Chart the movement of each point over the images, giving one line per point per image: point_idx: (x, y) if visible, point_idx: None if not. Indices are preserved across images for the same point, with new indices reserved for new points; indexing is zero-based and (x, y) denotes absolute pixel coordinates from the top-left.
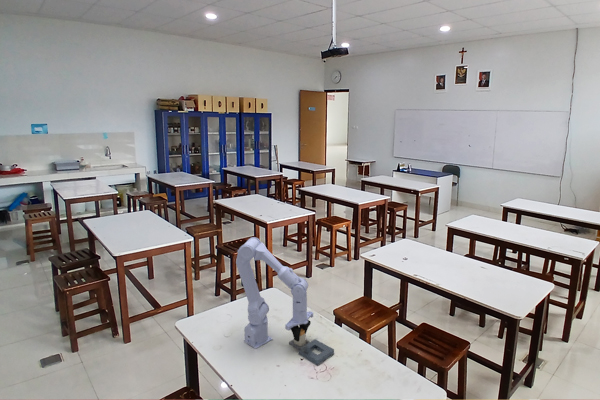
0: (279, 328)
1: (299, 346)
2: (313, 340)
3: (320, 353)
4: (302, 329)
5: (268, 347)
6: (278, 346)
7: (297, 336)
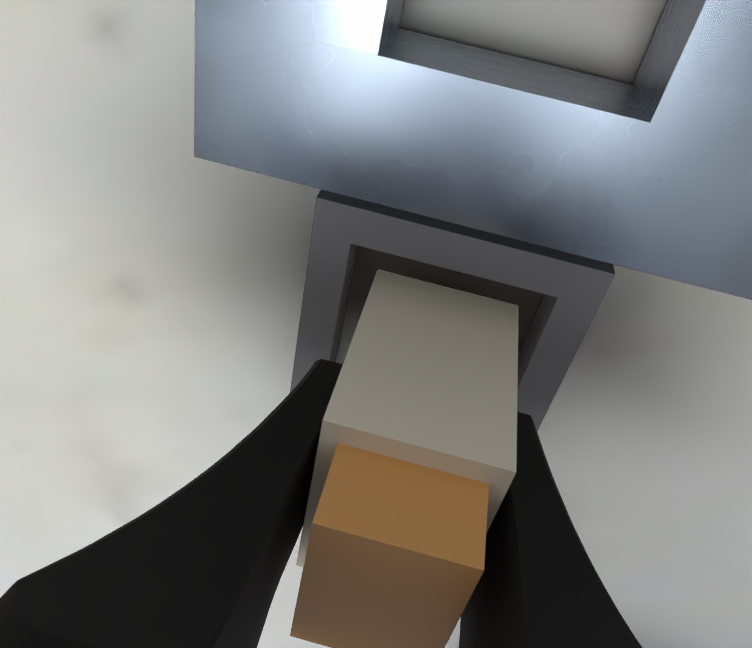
0: (272, 611)
1: (555, 325)
2: (257, 166)
3: None
4: (321, 567)
5: (678, 614)
6: (607, 540)
7: (566, 534)
